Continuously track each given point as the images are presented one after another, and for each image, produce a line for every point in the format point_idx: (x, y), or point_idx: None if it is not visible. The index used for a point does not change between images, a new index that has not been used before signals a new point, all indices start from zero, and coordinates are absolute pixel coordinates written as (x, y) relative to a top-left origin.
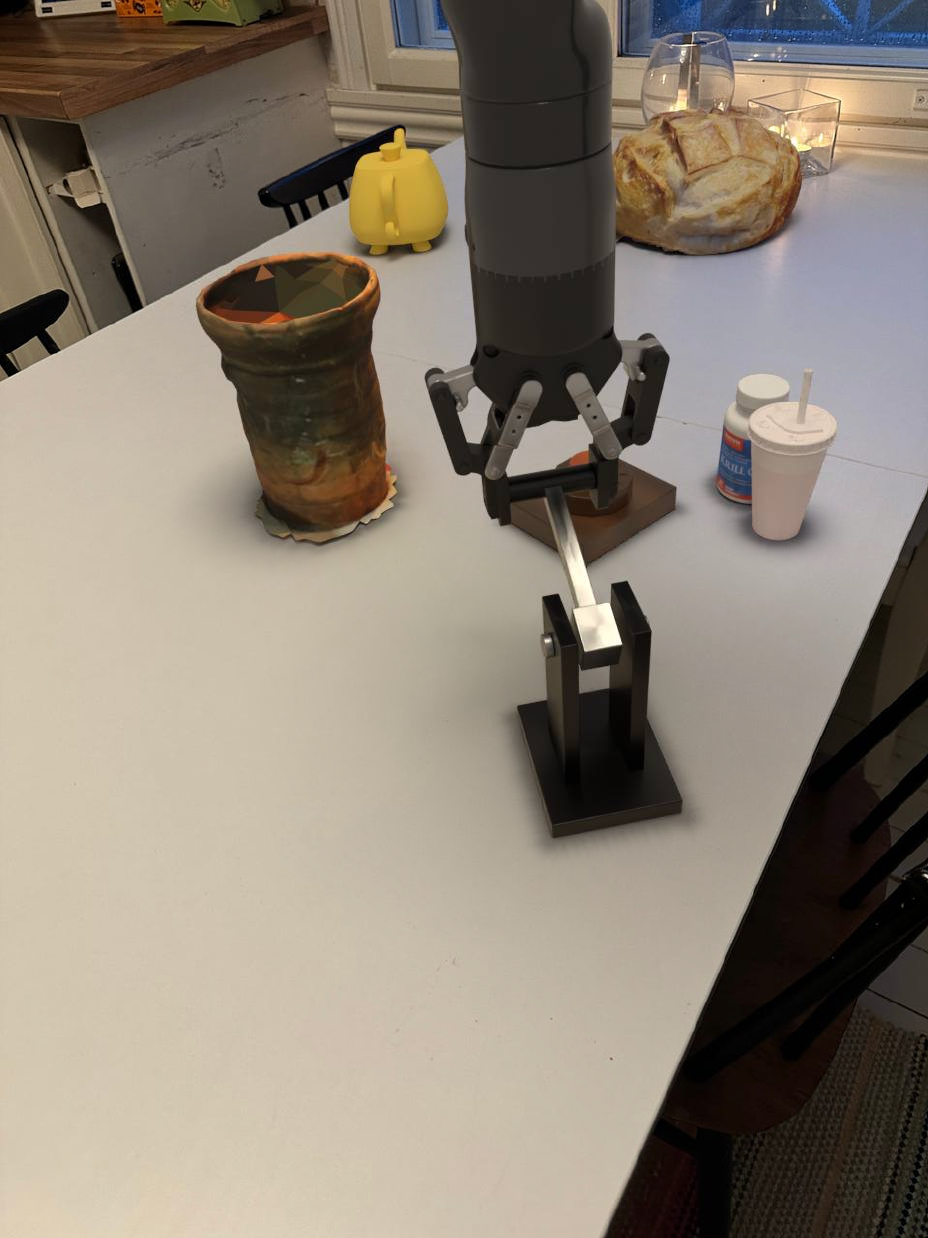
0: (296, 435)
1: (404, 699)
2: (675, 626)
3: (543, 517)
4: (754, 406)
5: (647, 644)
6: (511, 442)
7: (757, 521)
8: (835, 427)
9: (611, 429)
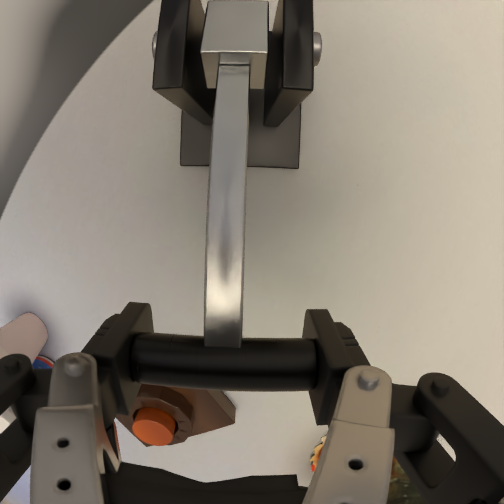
0: (411, 483)
1: (385, 223)
2: (121, 243)
3: (207, 398)
4: (12, 416)
5: None
6: (357, 432)
7: (40, 333)
8: None
9: (51, 403)
